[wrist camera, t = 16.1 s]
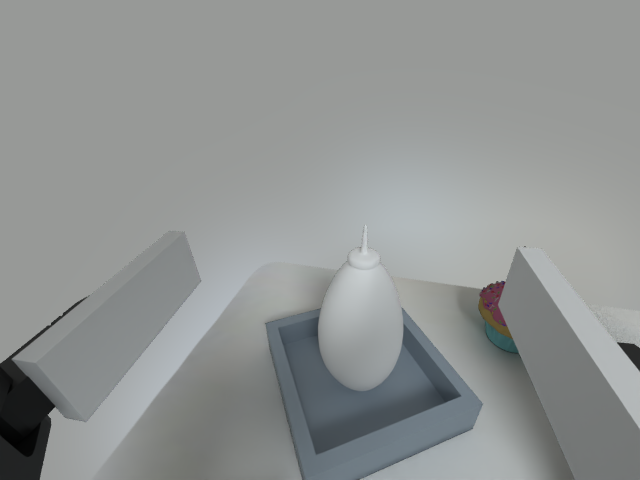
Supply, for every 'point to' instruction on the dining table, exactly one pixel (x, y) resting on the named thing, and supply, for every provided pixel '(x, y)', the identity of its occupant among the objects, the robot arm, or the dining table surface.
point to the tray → (365, 403)
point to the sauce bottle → (361, 321)
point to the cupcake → (495, 317)
